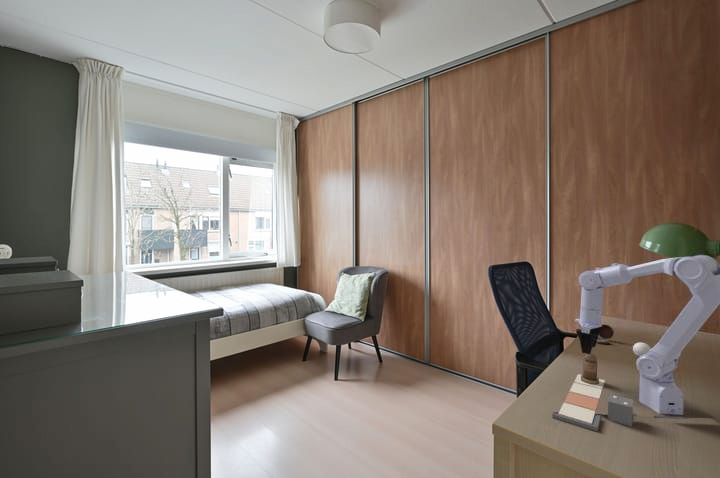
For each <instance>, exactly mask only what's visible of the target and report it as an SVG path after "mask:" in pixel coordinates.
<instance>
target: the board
mask: <svg viewBox="0 0 720 478" xmlns="http://www.w3.org/2000/svg"><path fill="white" fill-rule="evenodd" d="M581 375H582V374H577V376H576V378H575V379H574V381H573V384H572V386H571V387H570V390H569V391H568V393H567V396H566V398H565V399H564V402H563V403H562V405H561V407H560V410H559V412H556V411H555V412H552V414H551V415H552V417H551V418H552V419H555V420H559V421H562V422H565V423H568V424H571V425H574V426H578V427H581V428H584V429H588V430H591V431H594V432H598V431H599V426H600V424H601V420H602V416H603V414H602V413H596V410H597V408H598V405H599V401H600V400H599V399H600V398H601V393H602V392H603V388H604V384H605V382H606V380H605V379H600V378H598V379H599V384H595V385H594V384H588V383H585V382H583V381H581Z"/></svg>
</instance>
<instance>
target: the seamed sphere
mask: <svg viewBox="0 0 720 478" xmlns="http://www.w3.org/2000/svg"><path fill="white" fill-rule="evenodd" d="M631 348H632V351H633V353H634V354H635V355H636V356H637V357H638V358H639V357H640V356H643V355H646V354H647V353H648V352H649V351H650V350H651V349H652V348H651V346H649V344H647V343H646V342H636V343H634V345H632V347H629V349H631Z"/></svg>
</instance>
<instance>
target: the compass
mask: <svg viewBox="0 0 720 478" xmlns="http://www.w3.org/2000/svg"><path fill="white" fill-rule="evenodd" d="M602 326H603V328H602V330H601V331H600V333H599V335H598V338H597V342H596V344H599V345H610V344H612V345H615V342H612V341H610V340H608V339H611V338H613V337H614V333H615V331H614V329H613V328H612V326H611V325H609V324H603V323H602Z"/></svg>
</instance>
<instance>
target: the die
mask: <svg viewBox="0 0 720 478" xmlns="http://www.w3.org/2000/svg"><path fill="white" fill-rule="evenodd" d="M607 403H608V405H607V421H611V422H614V423H616V424H617V423H618V424H621V425H625V426H627V427H631V428H632V427H633V418H634V399H632V398H628V397H623V396H619V395H616V394H615V395H614V394H609V396H608V401H607Z"/></svg>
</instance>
